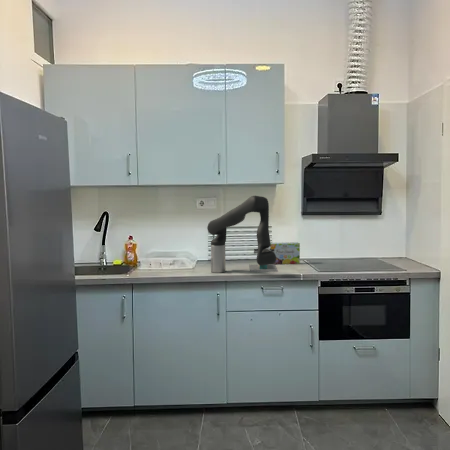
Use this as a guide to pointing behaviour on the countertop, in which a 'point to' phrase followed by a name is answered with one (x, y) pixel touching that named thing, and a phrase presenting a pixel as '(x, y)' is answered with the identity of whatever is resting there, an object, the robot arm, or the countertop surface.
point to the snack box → (286, 252)
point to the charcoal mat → (269, 269)
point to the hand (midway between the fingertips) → (263, 249)
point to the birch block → (263, 267)
